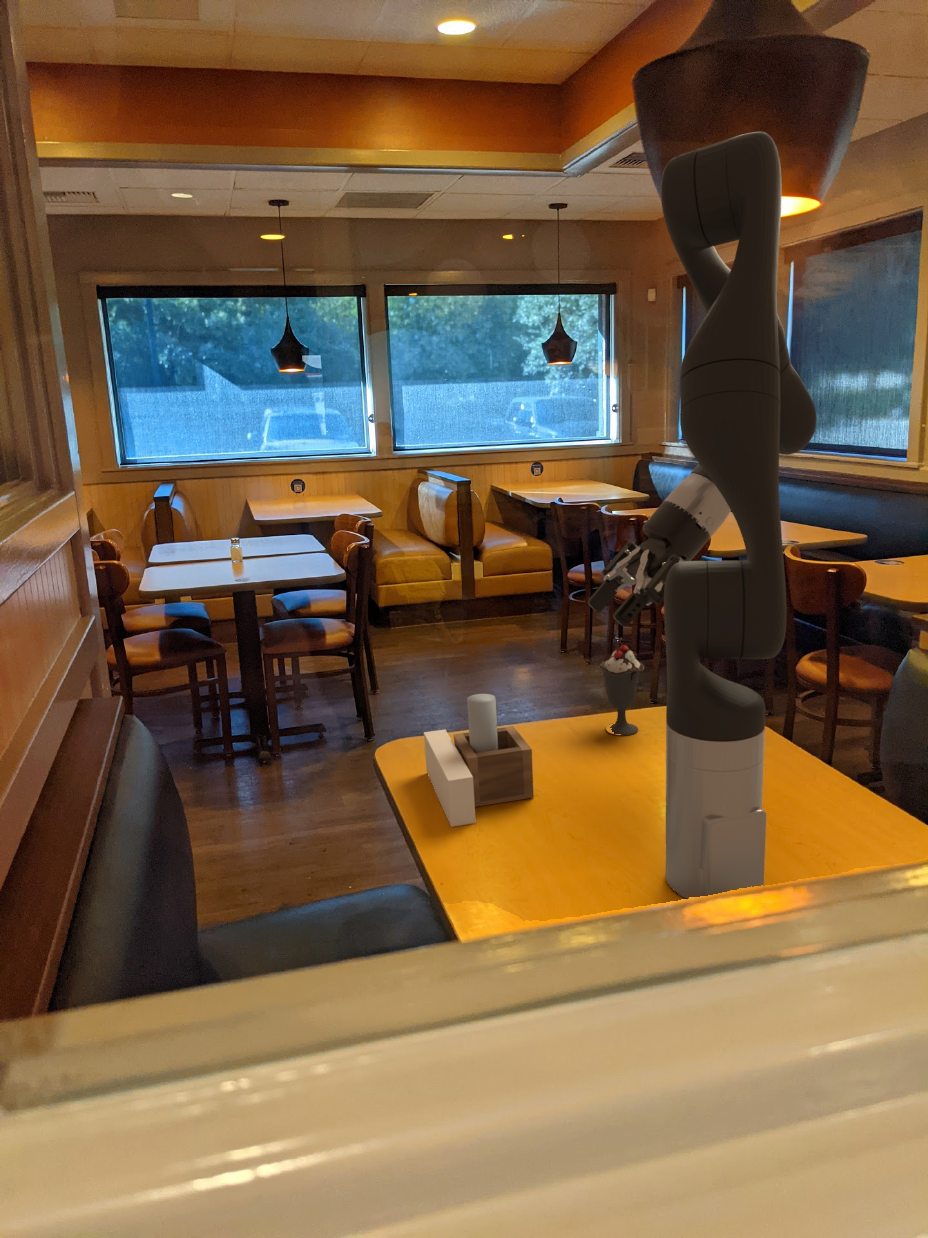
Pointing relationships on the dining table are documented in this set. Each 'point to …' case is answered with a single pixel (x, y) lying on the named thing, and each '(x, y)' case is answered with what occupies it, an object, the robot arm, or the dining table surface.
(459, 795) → the rail
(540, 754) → the dining table surface
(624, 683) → the sundae
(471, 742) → the gray cylinder
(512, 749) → the open wooden box
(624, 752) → the dining table surface
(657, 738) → the dining table surface
